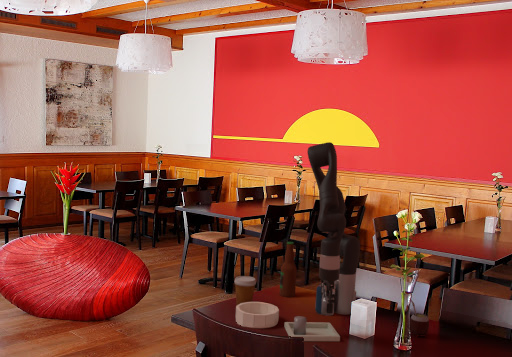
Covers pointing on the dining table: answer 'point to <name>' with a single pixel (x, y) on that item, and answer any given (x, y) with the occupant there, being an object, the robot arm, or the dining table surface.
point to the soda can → (318, 300)
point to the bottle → (288, 273)
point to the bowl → (257, 314)
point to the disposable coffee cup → (244, 289)
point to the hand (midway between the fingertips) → (327, 310)
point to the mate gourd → (419, 323)
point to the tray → (315, 331)
